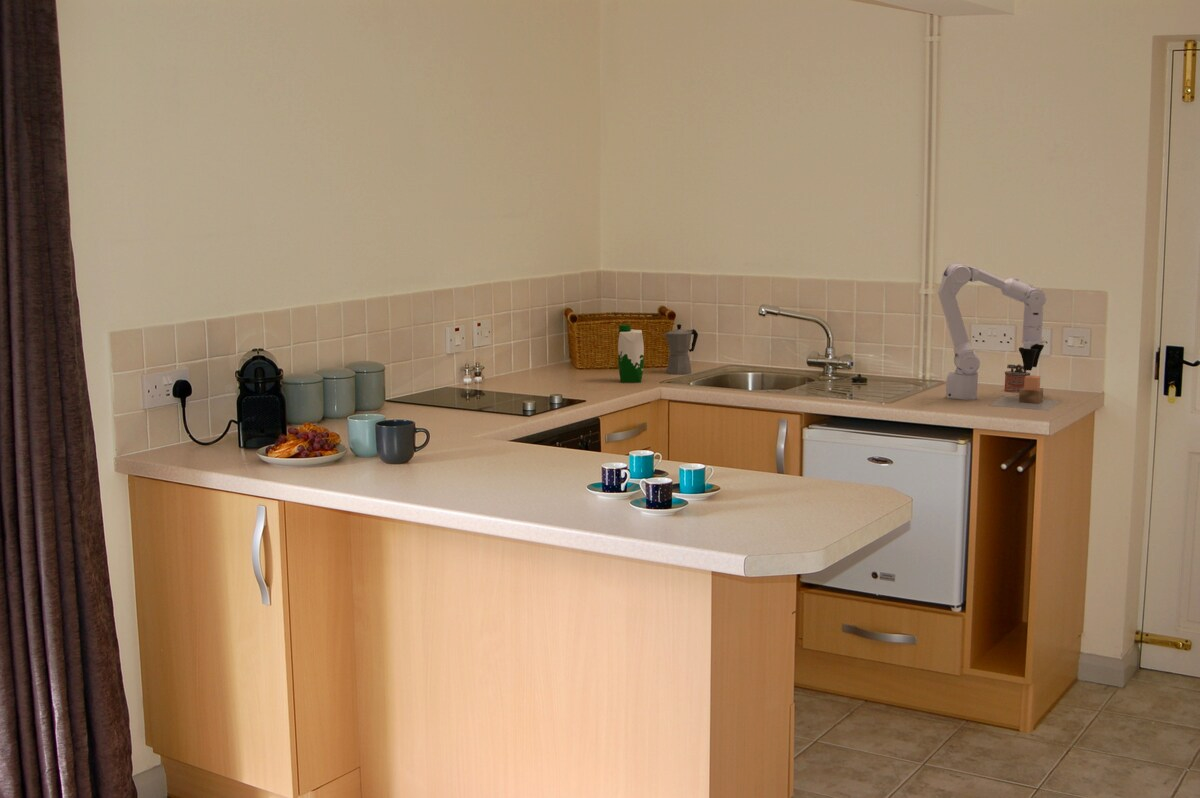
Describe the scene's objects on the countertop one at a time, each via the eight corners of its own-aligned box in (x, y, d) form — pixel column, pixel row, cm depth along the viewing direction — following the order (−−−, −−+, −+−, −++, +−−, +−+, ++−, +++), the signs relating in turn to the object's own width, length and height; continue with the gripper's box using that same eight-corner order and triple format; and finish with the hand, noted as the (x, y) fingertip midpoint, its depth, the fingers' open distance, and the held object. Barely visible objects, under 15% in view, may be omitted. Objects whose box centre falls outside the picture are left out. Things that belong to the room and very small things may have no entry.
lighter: (1029, 394, 422) (1031, 364, 420) (1028, 396, 419) (1030, 365, 417) (1004, 392, 426) (1005, 363, 424) (1003, 394, 423) (1004, 364, 421)
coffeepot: (672, 376, 466) (673, 326, 463) (656, 372, 473) (657, 324, 470) (705, 372, 475) (705, 323, 471) (689, 369, 482) (689, 321, 479)
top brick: (1023, 389, 402) (1024, 376, 402) (1026, 387, 406) (1027, 375, 405) (1037, 390, 400) (1037, 377, 400) (1039, 388, 404) (1040, 376, 403)
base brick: (1018, 402, 403) (1019, 389, 402) (1023, 399, 408) (1023, 386, 407) (1038, 403, 400) (1039, 391, 399) (1042, 400, 405) (1043, 388, 404)
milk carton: (618, 379, 460) (618, 323, 456) (643, 379, 459) (643, 323, 456) (618, 383, 451) (618, 326, 447) (644, 383, 451) (644, 326, 447)
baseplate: (988, 408, 398) (988, 405, 398) (1001, 399, 413) (1002, 396, 413) (1048, 413, 389) (1049, 410, 389) (1060, 404, 404) (1060, 401, 404)
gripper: (1041, 329, 399) (1038, 372, 401) (1050, 324, 411) (1047, 366, 413) (1017, 328, 402) (1015, 371, 404) (1027, 323, 414) (1025, 364, 417)
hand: (1030, 368), depth 409 cm, fingers open, 7 cm apart
